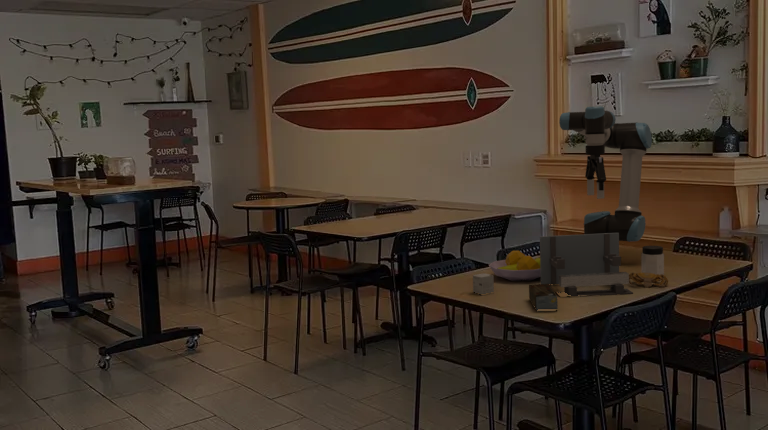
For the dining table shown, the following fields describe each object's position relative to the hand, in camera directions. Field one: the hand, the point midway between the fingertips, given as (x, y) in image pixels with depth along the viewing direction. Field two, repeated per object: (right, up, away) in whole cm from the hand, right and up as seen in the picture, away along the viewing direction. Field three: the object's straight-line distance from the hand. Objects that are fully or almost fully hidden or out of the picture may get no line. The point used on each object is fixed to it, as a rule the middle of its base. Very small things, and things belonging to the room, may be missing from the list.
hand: (595, 196), depth 314 cm
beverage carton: (-28, -41, -33) cm, 60 cm away
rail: (-6, -34, -19) cm, 40 cm away
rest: (-6, -38, -19) cm, 42 cm away
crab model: (+18, -36, -8) cm, 41 cm away
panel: (-6, -36, -6) cm, 37 cm away
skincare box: (-47, -39, -10) cm, 62 cm away
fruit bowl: (-27, -35, +16) cm, 46 cm away
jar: (+26, -33, +9) cm, 43 cm away
